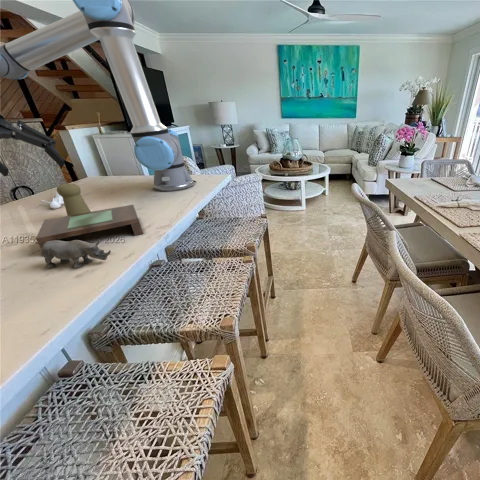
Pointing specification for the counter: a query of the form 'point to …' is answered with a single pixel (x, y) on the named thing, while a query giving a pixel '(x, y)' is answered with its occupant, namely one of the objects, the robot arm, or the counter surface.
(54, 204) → the woman figurine
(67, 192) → the cork
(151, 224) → the counter surface
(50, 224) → the shelf
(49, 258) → the rhino figurine
